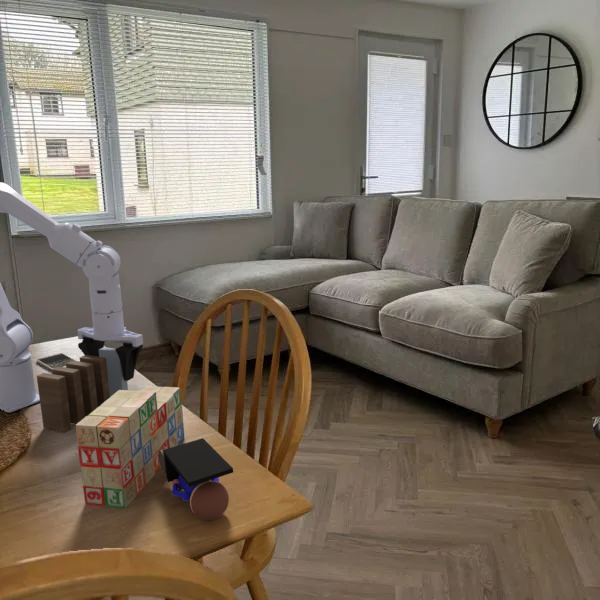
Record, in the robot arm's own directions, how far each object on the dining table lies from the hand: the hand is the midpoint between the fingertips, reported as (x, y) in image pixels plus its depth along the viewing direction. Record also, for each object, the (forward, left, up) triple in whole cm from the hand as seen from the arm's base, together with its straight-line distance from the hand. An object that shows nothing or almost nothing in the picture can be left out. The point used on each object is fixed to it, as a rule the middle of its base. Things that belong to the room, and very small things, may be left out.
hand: (113, 376), depth 118 cm
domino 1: (+3, -15, -4) cm, 16 cm away
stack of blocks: (+26, -16, -5) cm, 31 cm away
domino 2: (+2, -12, -4) cm, 13 cm away
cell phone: (-28, +6, -5) cm, 29 cm away
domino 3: (+1, -8, -4) cm, 9 cm away
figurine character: (+39, -18, -5) cm, 43 cm away
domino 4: (+1, -5, -4) cm, 7 cm away
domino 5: (0, 0, -4) cm, 4 cm away
